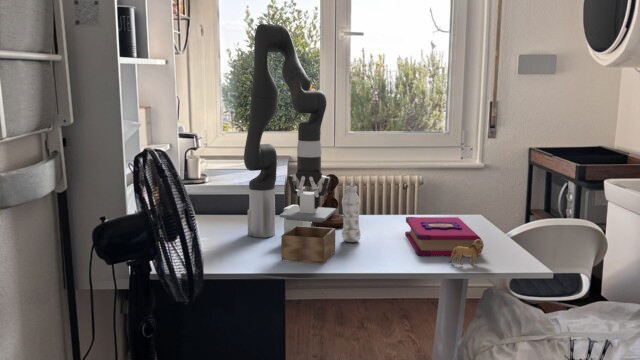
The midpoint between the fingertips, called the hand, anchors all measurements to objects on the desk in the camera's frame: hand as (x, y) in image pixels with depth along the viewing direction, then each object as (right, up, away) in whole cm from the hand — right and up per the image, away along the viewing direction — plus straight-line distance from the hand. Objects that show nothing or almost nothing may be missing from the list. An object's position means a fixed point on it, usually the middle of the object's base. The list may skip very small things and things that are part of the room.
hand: (308, 207), depth 195 cm
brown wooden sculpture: (+8, -9, +45) cm, 46 cm away
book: (+46, -14, +18) cm, 51 cm away
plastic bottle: (+15, -13, +20) cm, 28 cm away
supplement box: (-4, -13, +20) cm, 24 cm away
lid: (0, -2, 0) cm, 2 cm away
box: (0, -16, +3) cm, 16 cm away
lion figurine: (+49, -17, -4) cm, 52 cm away
